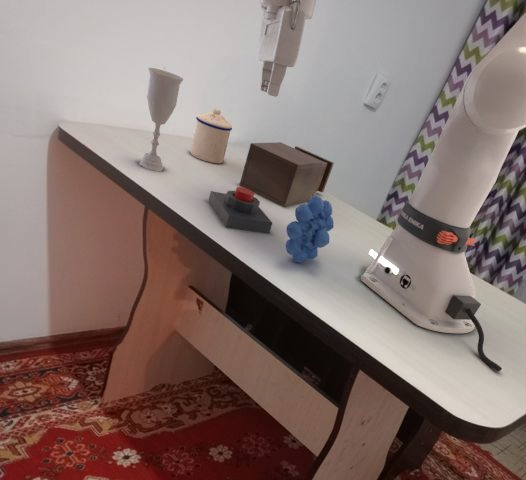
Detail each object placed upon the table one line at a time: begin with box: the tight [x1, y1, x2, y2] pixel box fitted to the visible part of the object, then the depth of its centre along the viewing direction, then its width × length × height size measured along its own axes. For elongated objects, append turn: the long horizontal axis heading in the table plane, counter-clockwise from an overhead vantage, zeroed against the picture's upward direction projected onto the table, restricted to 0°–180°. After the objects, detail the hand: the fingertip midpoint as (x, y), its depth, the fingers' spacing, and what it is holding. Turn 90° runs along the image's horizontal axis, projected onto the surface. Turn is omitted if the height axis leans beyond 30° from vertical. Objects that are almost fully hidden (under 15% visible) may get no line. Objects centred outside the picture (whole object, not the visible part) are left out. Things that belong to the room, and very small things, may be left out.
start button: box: [234, 186, 255, 202], centre depth 88 cm, size 4×4×2 cm
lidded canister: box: [190, 107, 233, 164], centre depth 117 cm, size 12×9×12 cm
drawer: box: [293, 146, 335, 193], centre depth 118 cm, size 18×11×8 cm, turn 149°
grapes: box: [285, 195, 335, 264], centre depth 77 cm, size 12×7×12 cm, turn 136°
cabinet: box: [239, 141, 324, 208], centre depth 109 cm, size 15×13×10 cm
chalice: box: [139, 67, 184, 172], centre depth 95 cm, size 7×7×18 cm
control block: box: [208, 190, 273, 234], centre depth 89 cm, size 12×9×4 cm
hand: (267, 93), depth 82 cm, fingers open, 8 cm apart
